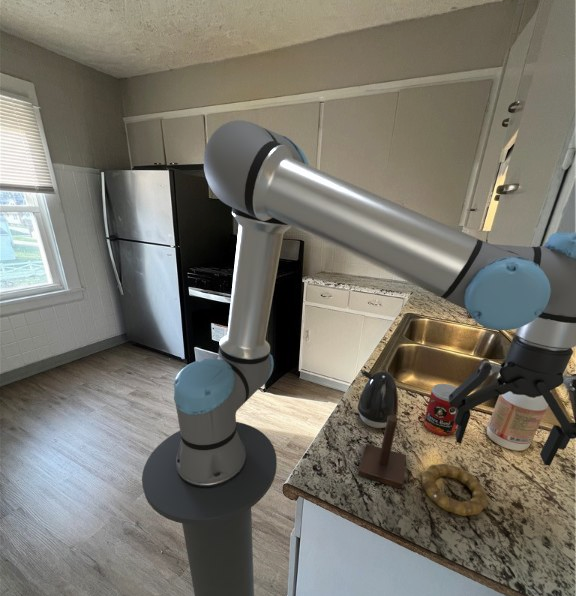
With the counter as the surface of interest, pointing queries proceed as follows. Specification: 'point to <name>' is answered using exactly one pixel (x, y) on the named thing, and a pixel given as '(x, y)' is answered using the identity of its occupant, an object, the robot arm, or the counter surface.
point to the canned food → (440, 410)
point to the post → (384, 459)
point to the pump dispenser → (378, 399)
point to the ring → (447, 503)
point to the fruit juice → (516, 420)
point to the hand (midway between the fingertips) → (499, 448)
